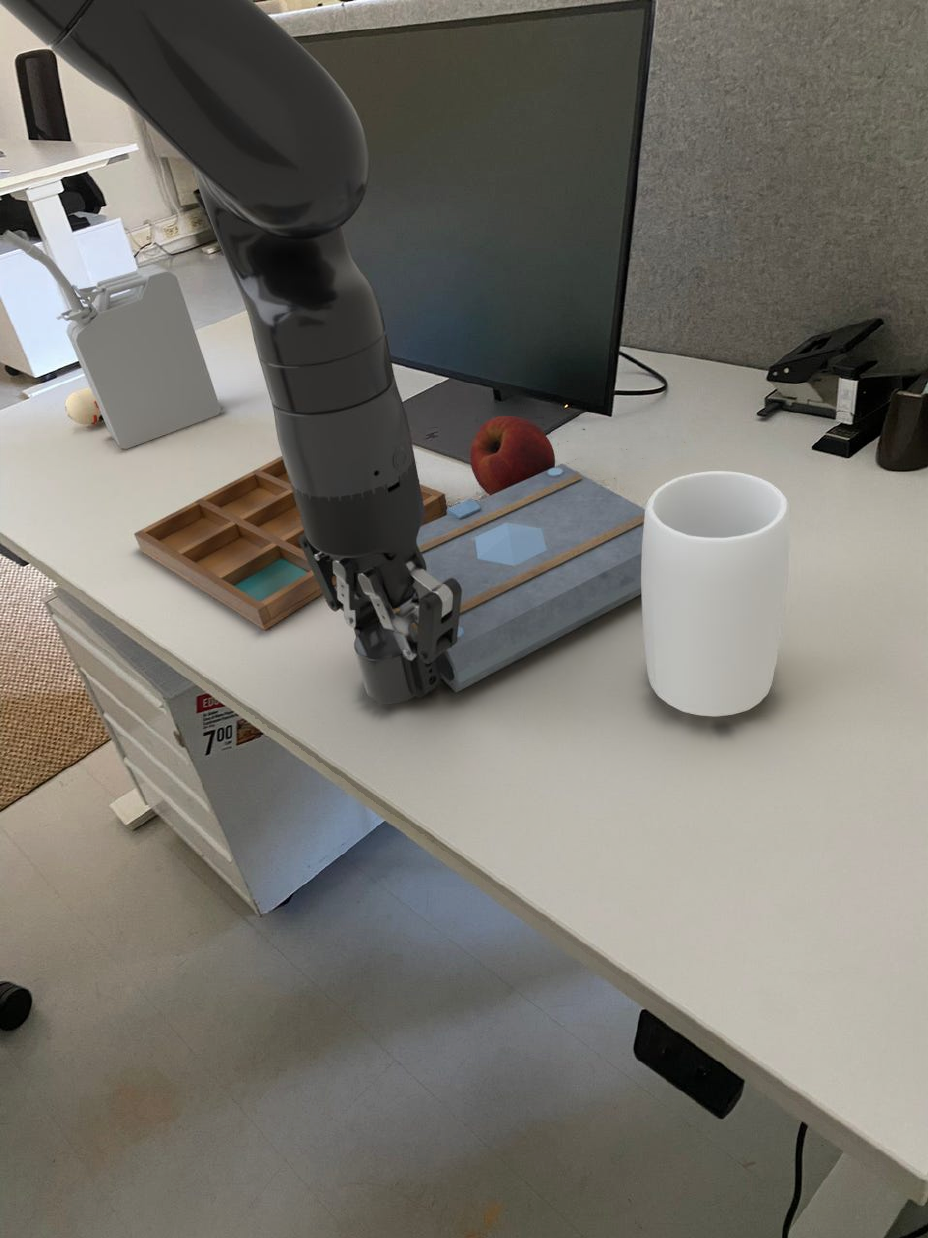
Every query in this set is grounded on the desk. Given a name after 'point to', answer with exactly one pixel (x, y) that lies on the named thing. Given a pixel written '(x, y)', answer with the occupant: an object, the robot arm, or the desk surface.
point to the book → (531, 567)
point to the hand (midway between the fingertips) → (401, 674)
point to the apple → (509, 453)
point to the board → (248, 544)
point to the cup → (714, 590)
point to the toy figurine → (83, 407)
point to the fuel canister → (136, 351)
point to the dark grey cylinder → (382, 664)
